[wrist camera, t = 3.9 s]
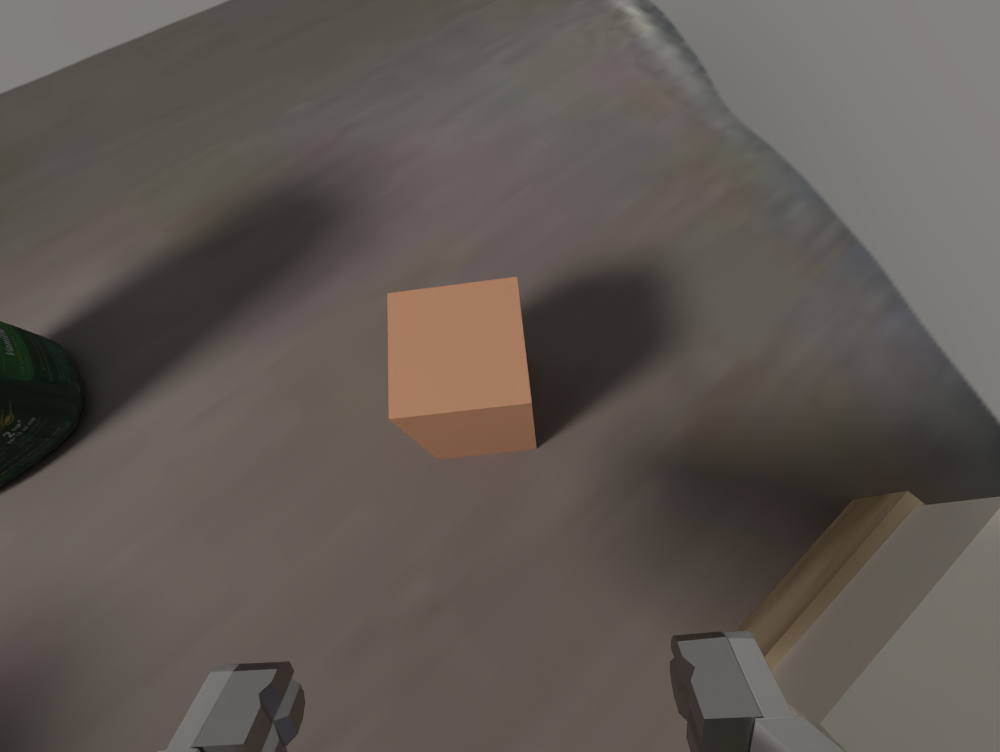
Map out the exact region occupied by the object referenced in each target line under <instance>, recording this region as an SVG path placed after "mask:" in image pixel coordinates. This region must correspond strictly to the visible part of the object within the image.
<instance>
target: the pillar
mask: <svg viewBox="0 0 1000 752" xmlns="http://www.w3.org/2000/svg"><path fill="white" fill-rule="evenodd" d="M388 386H389V420H391V421H392V422H393V423H394V424H395V425H397V426H398V427H399V428H400V429H401V430H403V431H404V432H405V433H406V434H408V435H409V436H410V437H411V438H412V439H414V440H415V441H416V442H417V443H418V444H420V445H421V446H422V447H423V448H425V449H426V450H427V451H428V452H429V453H431V454H432V455H433V456H434V457H436V458H437V459H445V458H454V457H463V456H473V455H482V454H491V453H501V452H510V451H519V450H528V449H537V447H536V438H535V428H534V419H533V410H532V400H531V392H530V383H529V375H528V366H527V358H526V349H525V341H524V333H523V324H522V316H521V307H520V299H519V290H518V282H517V277H512V278H504V279H496V280H488V281H481V282H473V283H465V284H457V285H449V286H441V287H434V288H426V289H418V290H410V291H402V292H395V293H388Z"/></svg>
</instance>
